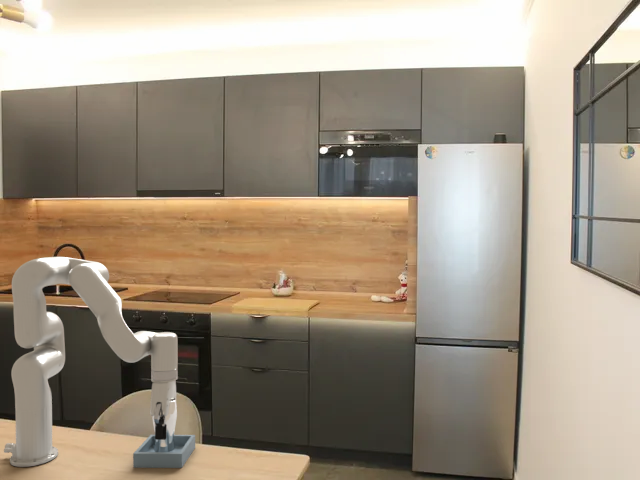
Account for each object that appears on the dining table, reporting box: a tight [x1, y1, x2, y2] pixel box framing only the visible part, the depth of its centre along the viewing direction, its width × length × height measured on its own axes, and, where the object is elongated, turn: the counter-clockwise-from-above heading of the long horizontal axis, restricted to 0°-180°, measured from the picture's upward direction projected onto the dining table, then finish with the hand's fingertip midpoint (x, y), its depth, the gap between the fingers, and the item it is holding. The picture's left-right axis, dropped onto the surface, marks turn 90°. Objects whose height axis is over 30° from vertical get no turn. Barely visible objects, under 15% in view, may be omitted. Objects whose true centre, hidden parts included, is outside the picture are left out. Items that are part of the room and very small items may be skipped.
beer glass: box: [152, 397, 178, 452], centre depth 154 cm, size 7×7×15 cm
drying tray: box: [132, 434, 196, 469], centre depth 155 cm, size 14×14×4 cm
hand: (164, 434), depth 155 cm, fingers closed on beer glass, 6 cm apart
